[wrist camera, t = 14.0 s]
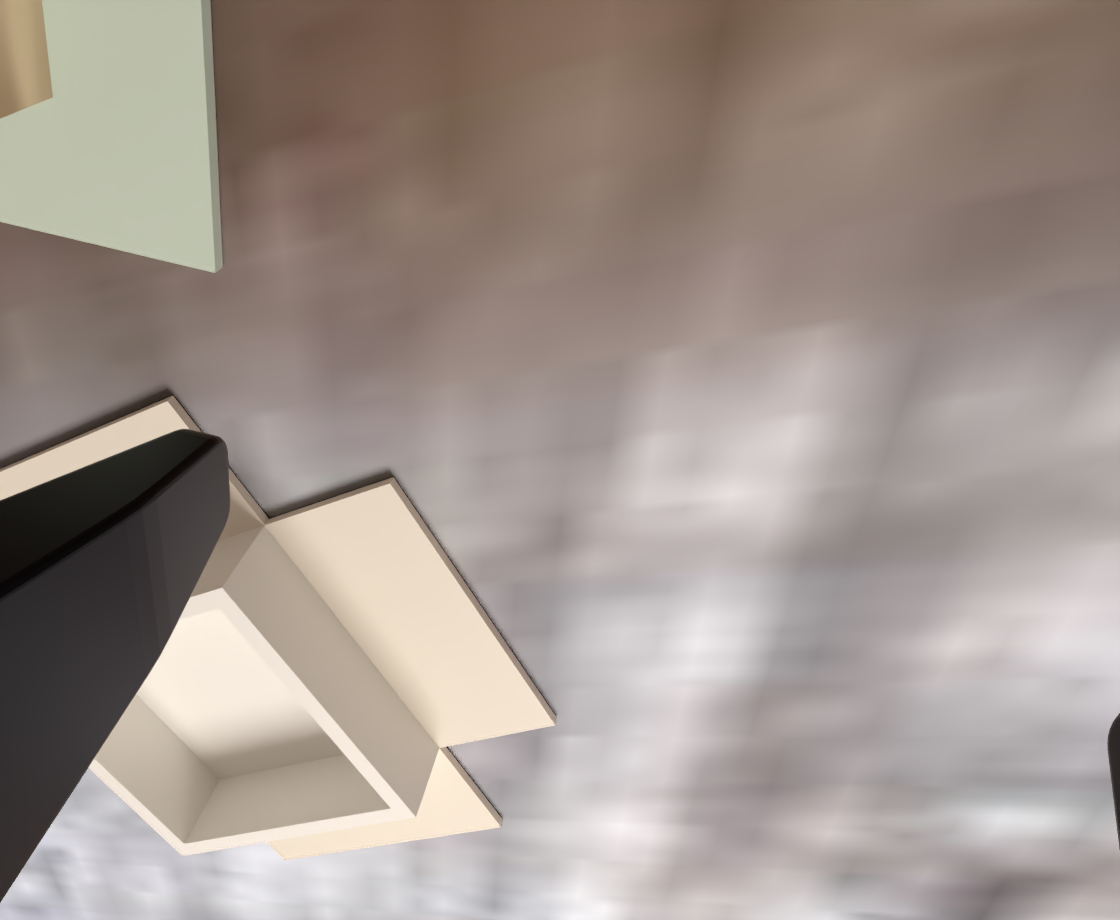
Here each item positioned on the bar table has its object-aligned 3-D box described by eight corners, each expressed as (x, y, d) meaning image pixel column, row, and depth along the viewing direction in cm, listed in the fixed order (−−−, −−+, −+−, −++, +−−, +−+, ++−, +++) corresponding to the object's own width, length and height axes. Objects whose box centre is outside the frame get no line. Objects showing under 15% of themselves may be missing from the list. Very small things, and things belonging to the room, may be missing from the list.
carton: (301, 340, 24) (249, 401, 21) (614, 802, 32) (602, 882, 30) (-147, 531, 31) (-224, 592, 28) (206, 866, 39) (170, 935, 37)
